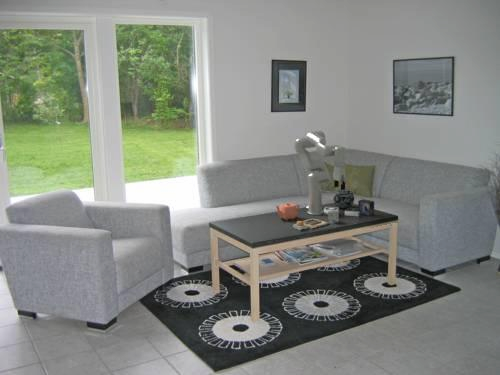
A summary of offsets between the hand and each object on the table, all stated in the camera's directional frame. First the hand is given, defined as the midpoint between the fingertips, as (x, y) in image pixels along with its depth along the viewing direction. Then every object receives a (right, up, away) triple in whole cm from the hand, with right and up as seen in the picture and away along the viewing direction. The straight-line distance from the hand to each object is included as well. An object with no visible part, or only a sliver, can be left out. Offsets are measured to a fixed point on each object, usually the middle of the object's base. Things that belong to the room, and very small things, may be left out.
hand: (339, 188), depth 373 cm
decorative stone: (+10, -16, +41) cm, 45 cm away
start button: (-29, -26, -9) cm, 40 cm away
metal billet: (-4, -24, +5) cm, 25 cm away
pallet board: (-19, -26, +1) cm, 32 cm away
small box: (+23, -20, +22) cm, 38 cm away
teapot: (-36, -23, +17) cm, 46 cm away
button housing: (-29, -28, -9) cm, 41 cm away
